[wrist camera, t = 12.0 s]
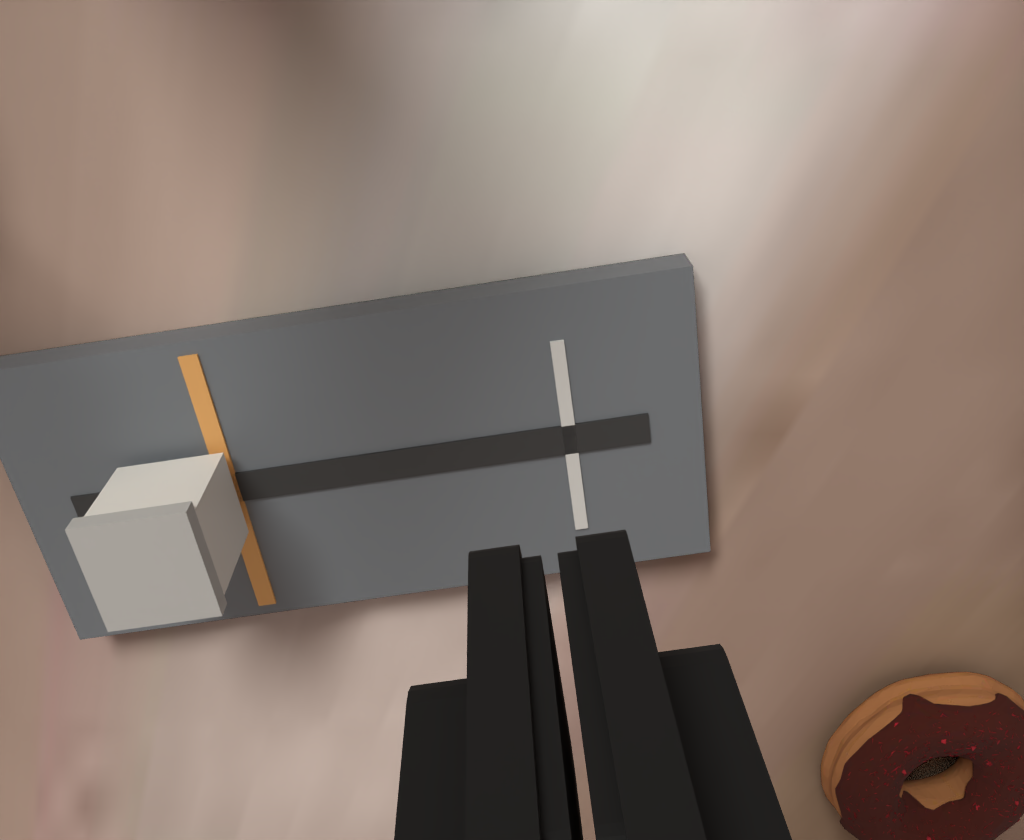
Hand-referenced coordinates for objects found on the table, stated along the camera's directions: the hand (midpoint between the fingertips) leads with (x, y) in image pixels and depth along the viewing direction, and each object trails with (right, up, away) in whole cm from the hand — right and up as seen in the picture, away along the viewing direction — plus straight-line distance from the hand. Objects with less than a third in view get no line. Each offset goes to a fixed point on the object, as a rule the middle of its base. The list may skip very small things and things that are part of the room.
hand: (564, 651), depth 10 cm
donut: (+19, -13, +36) cm, 42 cm away
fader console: (-6, +1, +27) cm, 28 cm away
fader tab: (-13, 0, +26) cm, 29 cm away
